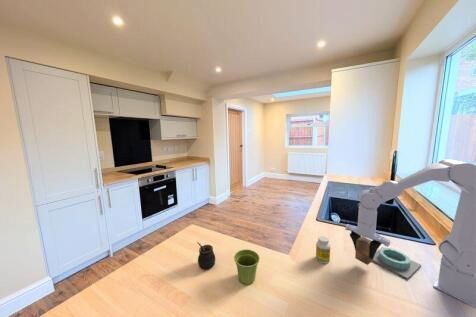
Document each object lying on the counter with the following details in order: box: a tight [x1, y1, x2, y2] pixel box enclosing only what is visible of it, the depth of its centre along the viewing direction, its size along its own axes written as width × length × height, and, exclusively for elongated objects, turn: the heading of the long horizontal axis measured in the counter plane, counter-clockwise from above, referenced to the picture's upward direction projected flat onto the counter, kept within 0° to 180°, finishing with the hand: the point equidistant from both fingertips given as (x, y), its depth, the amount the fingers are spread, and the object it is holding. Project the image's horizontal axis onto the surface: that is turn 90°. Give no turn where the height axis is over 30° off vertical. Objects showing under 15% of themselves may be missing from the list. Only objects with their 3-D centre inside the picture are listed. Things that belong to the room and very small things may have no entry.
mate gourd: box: [197, 241, 216, 271], centre depth 74 cm, size 7×8×10 cm
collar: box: [372, 247, 422, 281], centre depth 74 cm, size 13×13×3 cm
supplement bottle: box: [315, 235, 331, 264], centre depth 76 cm, size 5×5×10 cm
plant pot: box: [233, 249, 261, 286], centre depth 67 cm, size 9×9×9 cm
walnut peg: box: [354, 236, 373, 266], centre depth 71 cm, size 4×4×8 cm
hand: (364, 253), depth 71 cm, fingers closed on walnut peg, 4 cm apart
